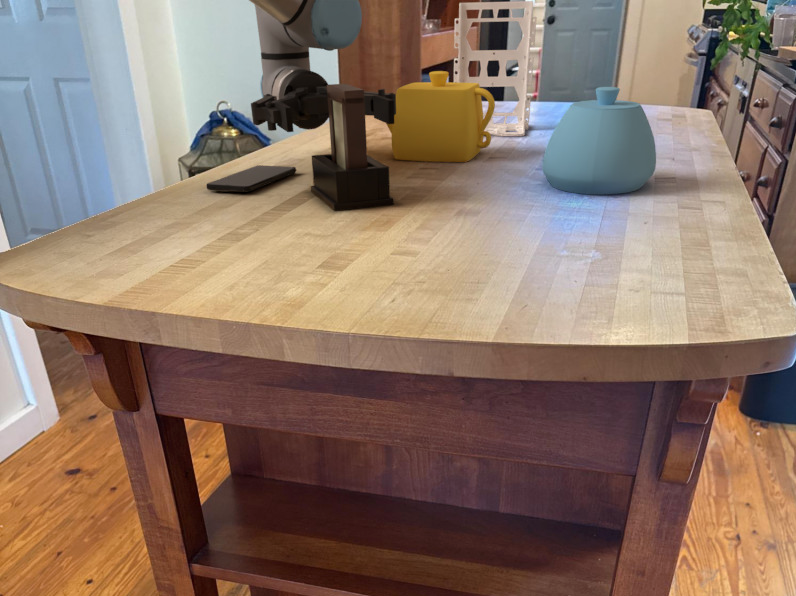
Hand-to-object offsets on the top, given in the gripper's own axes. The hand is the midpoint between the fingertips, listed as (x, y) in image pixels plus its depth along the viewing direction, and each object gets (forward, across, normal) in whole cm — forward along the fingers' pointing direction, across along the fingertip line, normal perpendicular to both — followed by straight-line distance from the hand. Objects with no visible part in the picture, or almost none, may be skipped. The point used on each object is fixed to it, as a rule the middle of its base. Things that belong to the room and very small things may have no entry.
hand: (341, 116), depth 95 cm
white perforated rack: (-40, -40, -10) cm, 58 cm away
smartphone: (-14, +10, -10) cm, 19 cm away
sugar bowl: (+9, -33, -10) cm, 36 cm away
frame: (+2, 0, -9) cm, 9 cm away
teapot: (-22, -21, -10) cm, 32 cm away
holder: (+2, 0, -9) cm, 10 cm away
